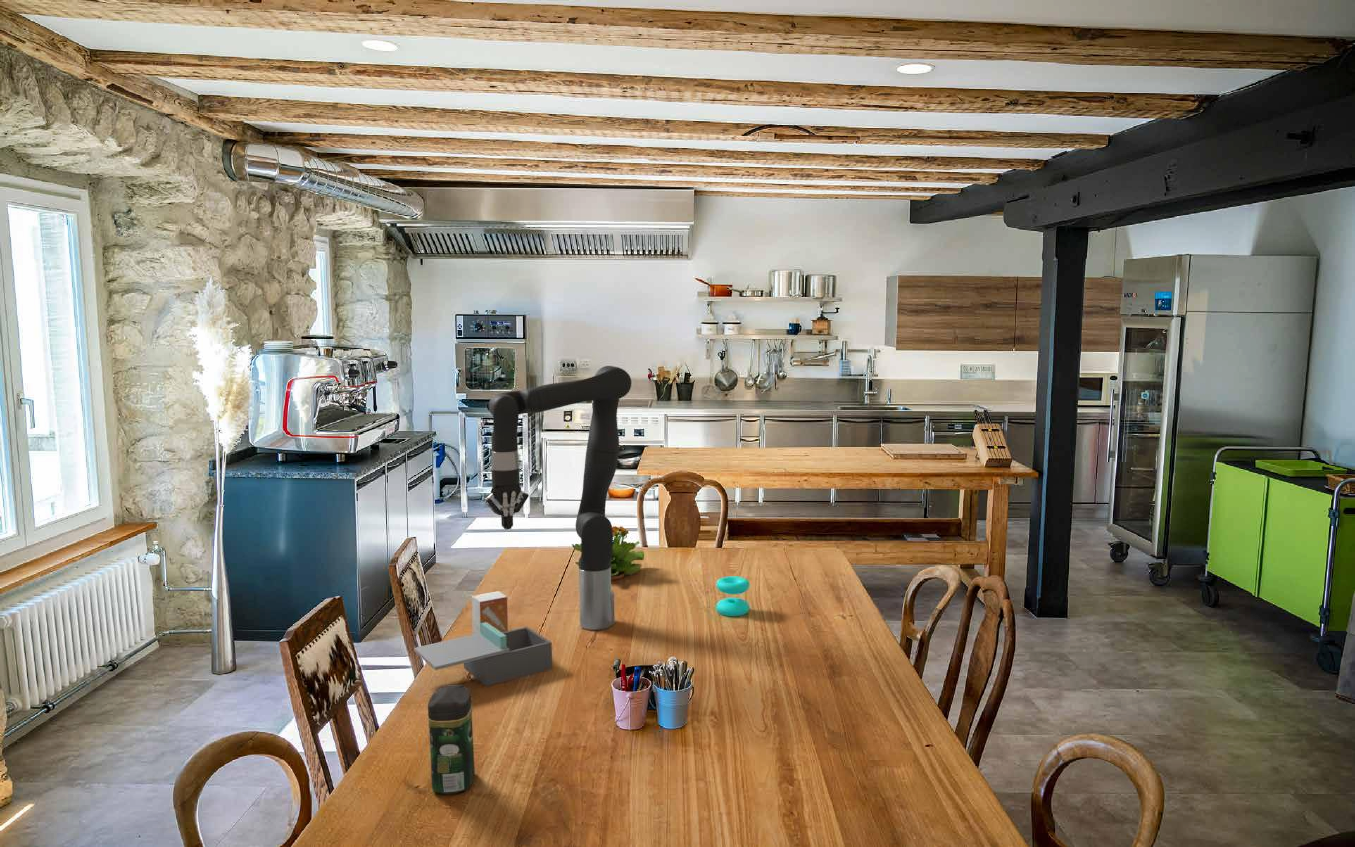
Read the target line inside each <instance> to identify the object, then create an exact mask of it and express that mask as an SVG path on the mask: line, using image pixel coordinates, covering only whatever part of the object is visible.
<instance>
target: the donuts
mask: <svg viewBox="0 0 1355 847" xmlns="http://www.w3.org/2000/svg"><path fill="white" fill-rule="evenodd" d="M715 585H716V586H715V587H716V588H717V589H718V590H719V592H721V593H722V594H723V593H724V594H727V595H741V594H744V593H746V592H747V591H748V590H749V588H750V586H751V585H750V582H749V580H748V579H747V578H744V577H742V576H736V575H732V576H724V577H723V576H722V577H721V578H719V579H718V580H717V581H716V584H715ZM716 611H717V612H718V613H719V614H721V615H724V616H726V617H740V616H744V615H747V613H748V612H749V611H750V604H749V602H748V601H746V600H744V599H743V598H740V597H739V598H738V597H726V598H723V599H721V600H719V601H718V602H717V604H716Z"/></svg>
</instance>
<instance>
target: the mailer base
mask: <svg viewBox="0 0 1355 847" xmlns="http://www.w3.org/2000/svg"><path fill="white" fill-rule="evenodd" d="M502 633H503V634H504V635H506V646H507V647H508V648H509V649H510V652H507V653H503V654H499V655H495V656H491V657H487V658H483V659H479V660H475V661H471V662H467V663H463V669H465V671H467V672H468V673H469V674H471V675H472V676H473V677H474V678H475V679H477V680H478V681H479V682H480V683H481V684H483V685H484V686H485V687H489V686H492V685H496V684H500V683H504V682H507V681H511V680H515V679H519V678H522V677H526V676H530V675H534V674H537V673H542V672H544V671H549V670H552V669H553V649H552V648H553V647H552V646H553V644H552V642H551V640H549V639H547V638H545V637H544V636H543V635H541V634H539V633H538V632H536V631H535V630H534V629H532V628H530V627H529V626H523V627H519V628H516V629H512V630H508V631H506V632H502Z"/></svg>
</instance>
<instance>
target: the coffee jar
mask: <svg viewBox="0 0 1355 847" xmlns="http://www.w3.org/2000/svg"><path fill="white" fill-rule="evenodd" d="M470 691H471V690H469V689H468V688H467V687H465V686H464V685H463V684H449V685H448V684H447V685H442V686H441V687H440V688H437V690H435V691H434V692H433V694H432V695H431V697H430V698H429V700H428V703H427V720H428V730H429V731H428V732H429V751H430V753H429V754H430V772H431V773H430V777H431V789H432V791H433V792H434V793H437V794H442V795H455V794H458V793H462V792H465V791H467V790H469V788H471V785H473V784H472V783H473V782H474V778H475V774H476V773H475V771H476V770H475V768H476V767H475V755H474V754H475V752H474V735H473V733H474V732H473V731H474V730H473V711H472V710H473V709H472V707H473V706H472V694H471V692H470Z"/></svg>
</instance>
